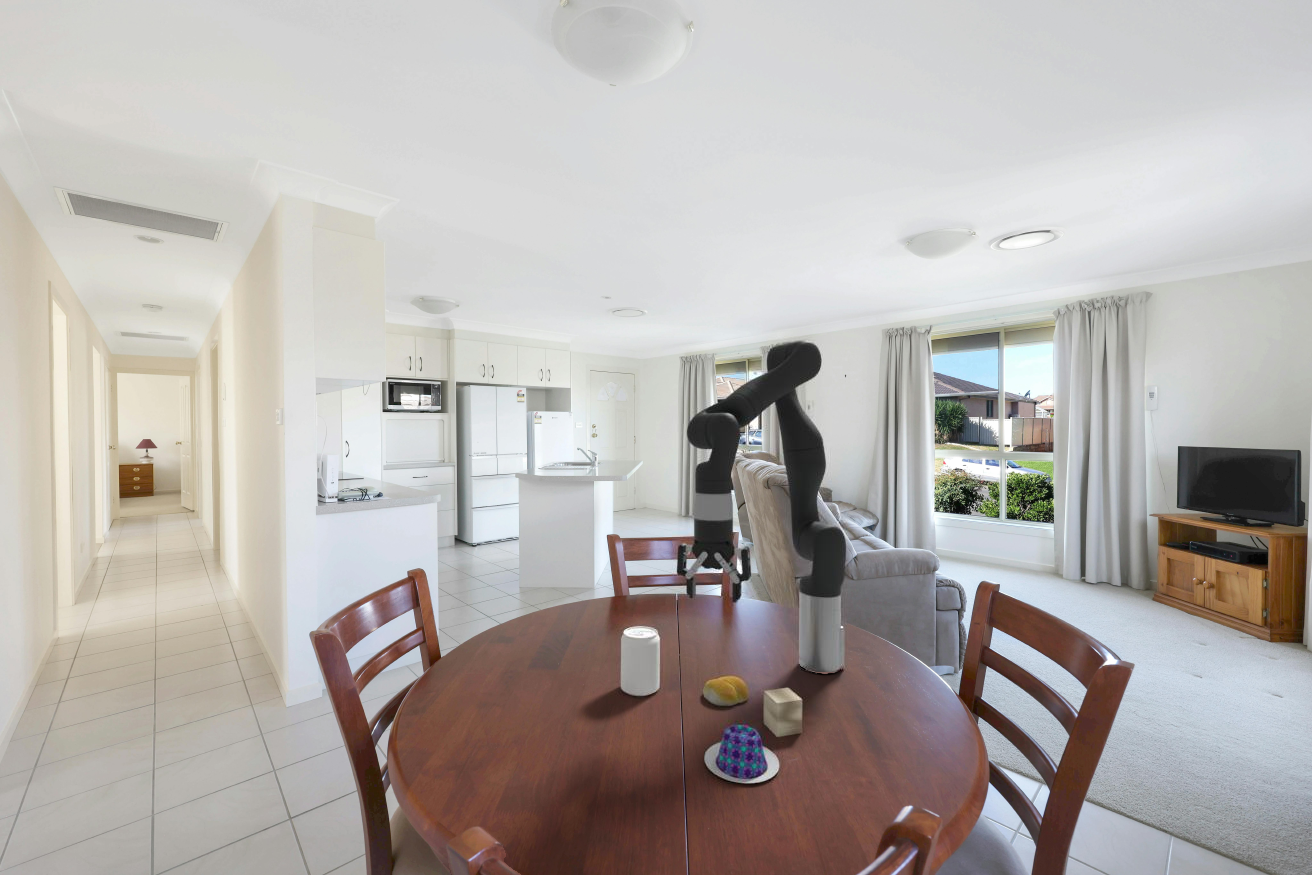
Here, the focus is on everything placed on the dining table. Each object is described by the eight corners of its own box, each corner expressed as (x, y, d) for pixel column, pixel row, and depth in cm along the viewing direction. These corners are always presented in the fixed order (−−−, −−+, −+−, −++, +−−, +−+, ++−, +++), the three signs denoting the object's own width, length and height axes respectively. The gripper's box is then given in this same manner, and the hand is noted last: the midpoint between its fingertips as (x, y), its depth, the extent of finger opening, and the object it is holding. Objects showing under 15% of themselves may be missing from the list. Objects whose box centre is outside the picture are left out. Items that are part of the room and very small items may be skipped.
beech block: (787, 719, 104) (787, 687, 104) (802, 732, 99) (802, 699, 99) (763, 723, 102) (763, 690, 102) (777, 737, 98) (777, 703, 98)
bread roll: (756, 699, 112) (756, 680, 112) (722, 711, 107) (722, 690, 107) (729, 684, 119) (729, 665, 119) (696, 694, 114) (696, 675, 114)
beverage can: (655, 699, 111) (655, 640, 111) (616, 695, 113) (616, 636, 113) (662, 682, 119) (663, 626, 119) (626, 679, 121) (626, 624, 121)
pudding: (785, 754, 93) (785, 723, 93) (770, 796, 82) (770, 760, 82) (717, 738, 98) (717, 708, 98) (693, 775, 87) (694, 742, 87)
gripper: (753, 515, 108) (753, 597, 108) (684, 511, 113) (684, 590, 113) (746, 520, 101) (746, 608, 101) (672, 516, 106) (672, 601, 106)
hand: (713, 599), depth 107 cm, fingers open, 8 cm apart
